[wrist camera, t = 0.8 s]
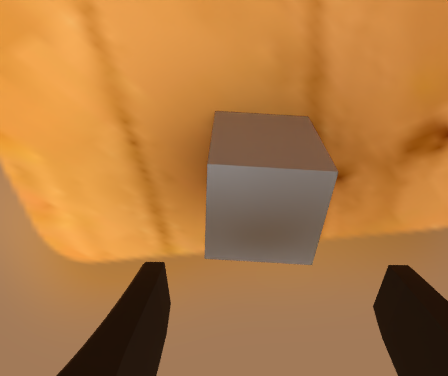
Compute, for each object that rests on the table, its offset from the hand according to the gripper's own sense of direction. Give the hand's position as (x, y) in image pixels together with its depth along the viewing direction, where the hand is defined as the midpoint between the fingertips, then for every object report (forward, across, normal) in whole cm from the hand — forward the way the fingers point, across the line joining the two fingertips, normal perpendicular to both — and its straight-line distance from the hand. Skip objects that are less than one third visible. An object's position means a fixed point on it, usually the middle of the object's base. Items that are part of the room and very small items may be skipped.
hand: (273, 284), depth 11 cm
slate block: (+10, 0, 0) cm, 10 cm away
